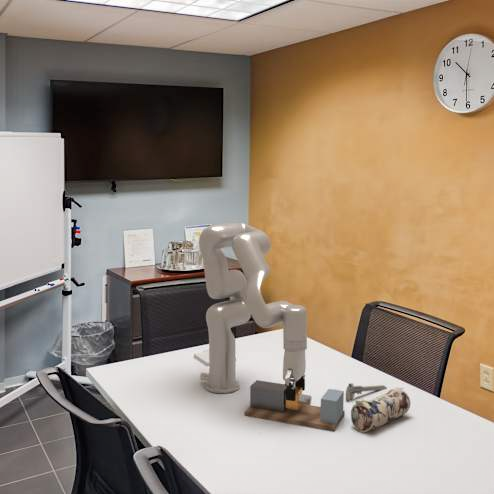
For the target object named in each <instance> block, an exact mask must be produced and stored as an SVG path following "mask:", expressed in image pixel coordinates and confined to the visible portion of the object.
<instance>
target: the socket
mask: <svg viewBox="0 0 494 494" xmlns="http://www.w3.org/2000/svg"><path fill="white" fill-rule="evenodd" d="M344 392H345V391H344V390H339V389H332V388H328V389H327V390H326V392H325V393H324V394H323V395H322V396H321V398H320V407H321V421H320V422H326V423H332V424H337V422H338V420H339V419H340V417H341V416H342V414H343V411H344V399H345V398H344V395H345V393H344Z"/></svg>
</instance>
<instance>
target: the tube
mask: <svg viewBox="0 0 494 494" xmlns="http://www.w3.org/2000/svg"><path fill="white" fill-rule="evenodd" d="M294 389H296V400H295V401H289V400H286V394H285V401H286V408H288V409H294V410H298V409H299V408H300V407H301V405H302V404H306V405H312V399H313V398H312V395H308V394H303V390H302V387H295V388H294Z"/></svg>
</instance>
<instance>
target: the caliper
mask: <svg viewBox="0 0 494 494" xmlns="http://www.w3.org/2000/svg"><path fill="white" fill-rule="evenodd" d="M387 388H388V387H387V386H386V385H384V384H380V385H379V384H378V385H366V386H364V385H355V384H354V383H352V382H351V383H350V382H349V383H348V386H347V387H346V390H345V401H346V402H350V401H353V399H354V397H355V394H357V395H359V394H360V395H362V393H363V392H371V391H382V389H383V390H385V389H387Z"/></svg>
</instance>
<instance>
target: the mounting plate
mask: <svg viewBox="0 0 494 494" xmlns="http://www.w3.org/2000/svg"><path fill="white" fill-rule="evenodd" d="M193 358H195V360H197V361H199V362H200V363H201V364H203V365H205V366H206V367H207V368H208V367H209V349H203V350H202V352H198V353H194V354H193ZM235 362H237V357H236V356H235Z"/></svg>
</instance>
